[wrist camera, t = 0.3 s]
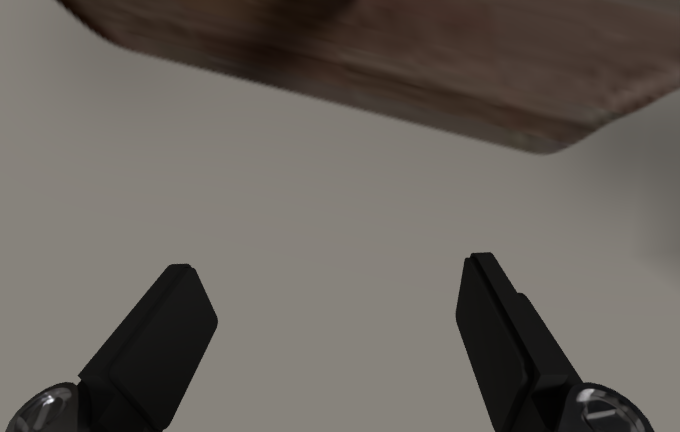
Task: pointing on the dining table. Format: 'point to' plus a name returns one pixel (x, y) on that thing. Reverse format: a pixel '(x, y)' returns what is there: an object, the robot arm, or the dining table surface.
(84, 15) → the dining table surface
